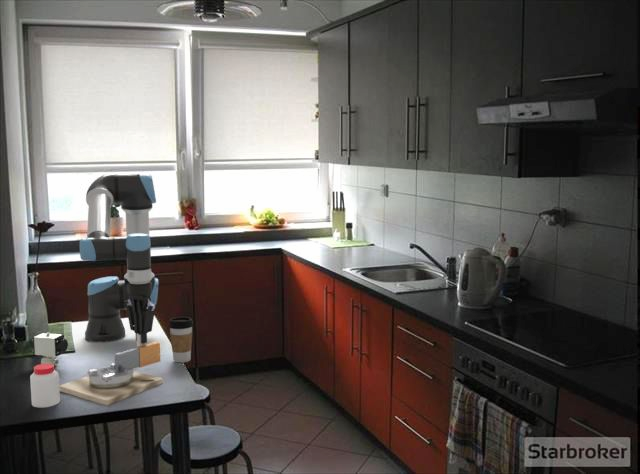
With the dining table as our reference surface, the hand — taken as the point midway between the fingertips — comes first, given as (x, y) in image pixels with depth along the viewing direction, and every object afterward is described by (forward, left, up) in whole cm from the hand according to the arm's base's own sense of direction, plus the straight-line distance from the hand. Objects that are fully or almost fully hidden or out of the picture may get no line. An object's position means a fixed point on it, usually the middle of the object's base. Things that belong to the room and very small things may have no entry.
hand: (141, 352), depth 217 cm
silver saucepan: (+7, +1, -6) cm, 9 cm away
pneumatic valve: (+11, -33, -8) cm, 35 cm away
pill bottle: (+32, -6, -8) cm, 33 cm away
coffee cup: (-18, 0, -8) cm, 20 cm away
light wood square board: (+13, 0, -8) cm, 15 cm away
